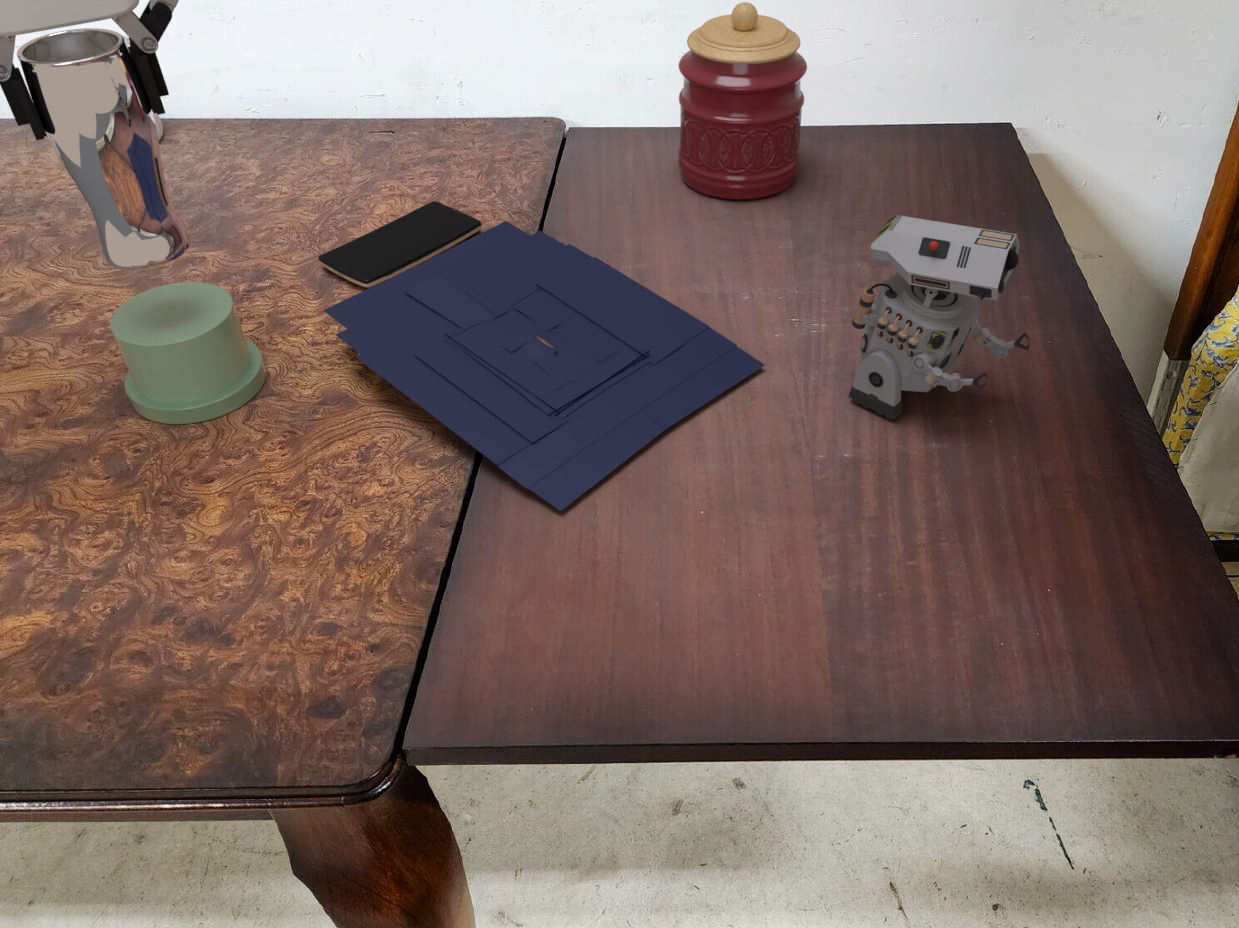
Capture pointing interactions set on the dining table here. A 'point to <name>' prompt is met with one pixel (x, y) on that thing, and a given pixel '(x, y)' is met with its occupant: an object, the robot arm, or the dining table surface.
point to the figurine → (928, 308)
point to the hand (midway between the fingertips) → (98, 117)
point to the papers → (539, 356)
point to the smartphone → (400, 244)
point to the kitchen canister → (741, 106)
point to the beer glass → (106, 141)
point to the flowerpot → (186, 353)
